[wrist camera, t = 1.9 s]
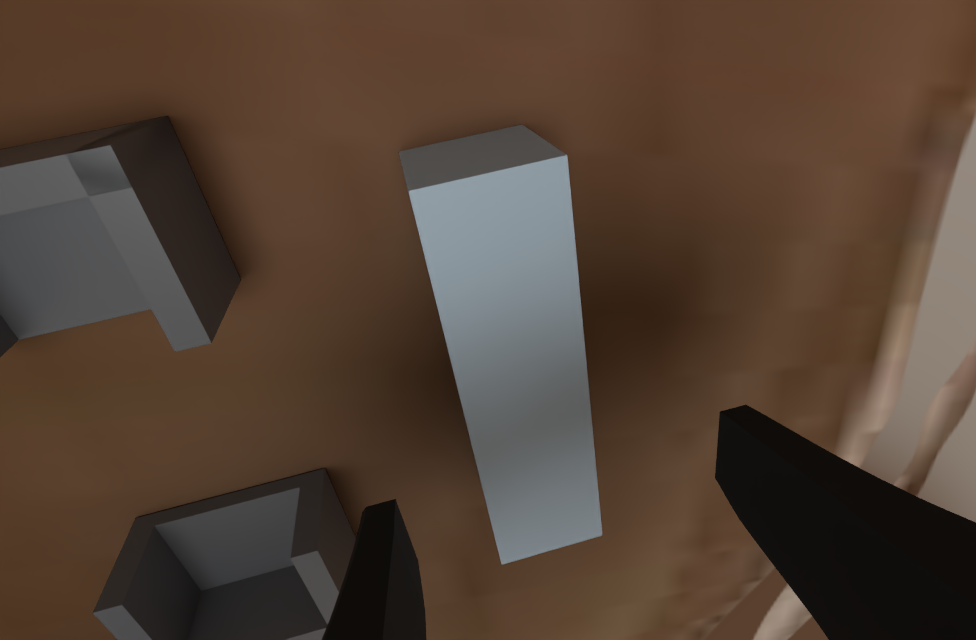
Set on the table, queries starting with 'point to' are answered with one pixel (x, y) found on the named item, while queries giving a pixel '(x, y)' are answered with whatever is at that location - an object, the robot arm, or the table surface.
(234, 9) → the table surface
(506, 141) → the light grey rectangular bar
